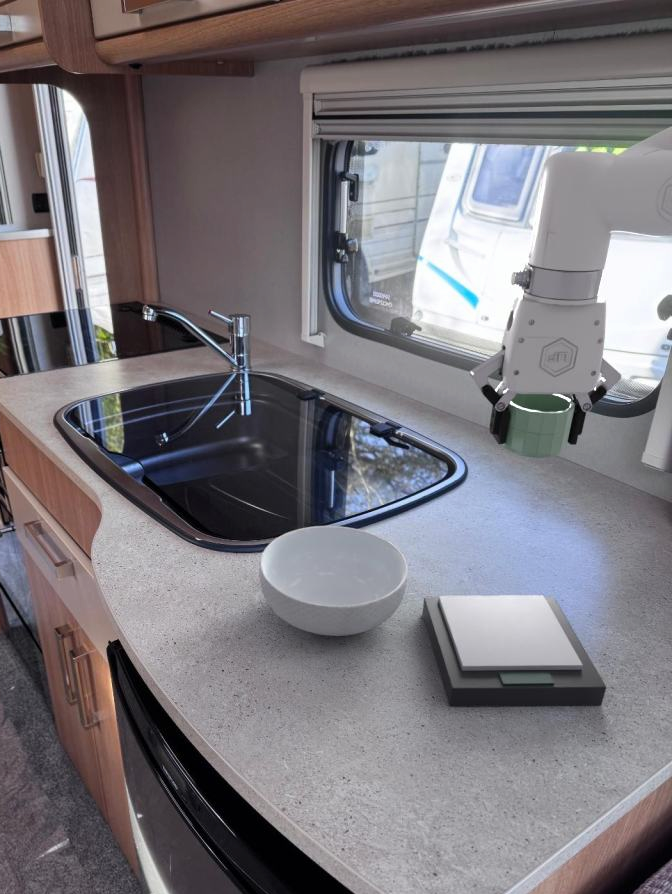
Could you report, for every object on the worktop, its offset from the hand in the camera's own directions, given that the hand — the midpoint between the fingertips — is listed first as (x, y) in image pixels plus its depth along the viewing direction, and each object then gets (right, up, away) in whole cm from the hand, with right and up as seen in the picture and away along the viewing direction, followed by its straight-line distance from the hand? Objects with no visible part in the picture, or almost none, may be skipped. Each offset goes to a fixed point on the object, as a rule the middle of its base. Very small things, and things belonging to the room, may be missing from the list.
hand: (533, 439), depth 84 cm
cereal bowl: (-23, -20, 0) cm, 31 cm away
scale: (-5, -24, -6) cm, 25 cm away
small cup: (0, -1, 0) cm, 1 cm away
